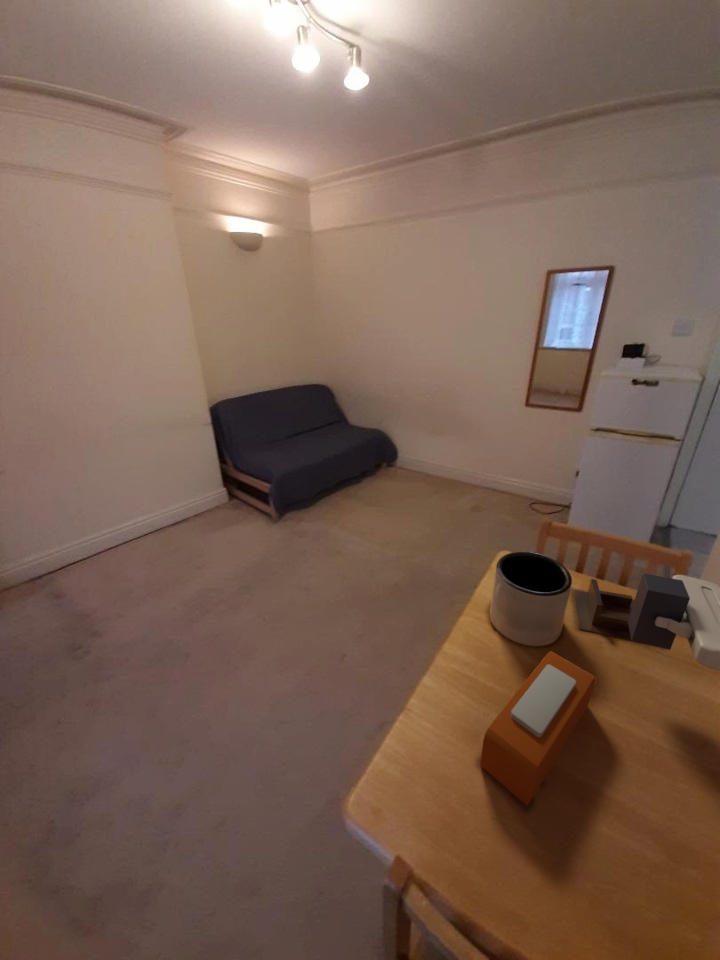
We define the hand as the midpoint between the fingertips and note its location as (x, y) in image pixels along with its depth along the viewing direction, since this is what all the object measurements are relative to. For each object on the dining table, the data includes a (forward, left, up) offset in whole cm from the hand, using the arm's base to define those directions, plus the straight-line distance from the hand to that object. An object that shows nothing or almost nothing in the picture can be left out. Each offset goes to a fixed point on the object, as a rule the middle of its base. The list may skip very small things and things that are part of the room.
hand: (651, 607), depth 74 cm
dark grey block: (-1, -1, -7) cm, 7 cm away
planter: (+22, +4, -20) cm, 30 cm away
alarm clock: (+3, +25, -20) cm, 32 cm away
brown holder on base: (+11, -14, -20) cm, 26 cm away
